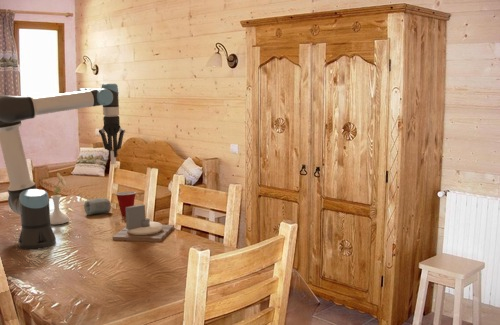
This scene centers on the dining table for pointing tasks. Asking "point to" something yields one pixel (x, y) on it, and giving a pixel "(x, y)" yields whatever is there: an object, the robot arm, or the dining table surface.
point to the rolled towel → (97, 206)
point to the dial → (140, 221)
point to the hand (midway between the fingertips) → (113, 163)
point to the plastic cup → (125, 200)
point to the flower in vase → (57, 215)
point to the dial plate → (151, 237)
